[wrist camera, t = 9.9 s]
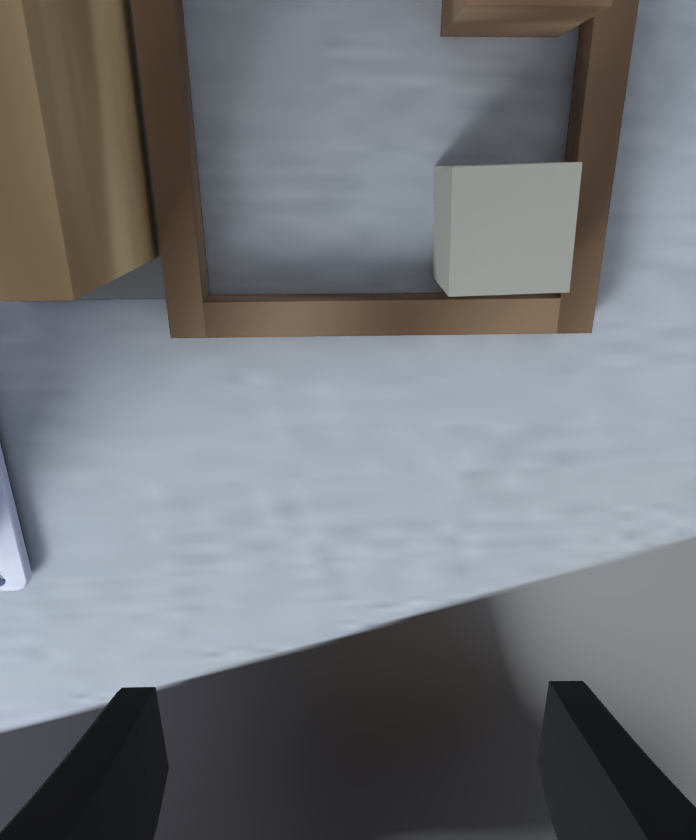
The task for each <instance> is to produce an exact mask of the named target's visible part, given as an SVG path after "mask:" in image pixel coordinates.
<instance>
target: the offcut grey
mask: <svg viewBox="0 0 696 840" xmlns="http://www.w3.org/2000/svg"><path fill="white" fill-rule="evenodd" d="M582 163H583V162H526V163H499V164H471V165H444V166H435V170H434V227H433V278H434V279H435V280H436V282H437V283H438V284H439V285H440V286H441V288H442V289H443V290H444V291H445V293H446V294H447V295H448V296H449V297H457V296H485V295H512V294H540V293H568V292H569V291H570V281H571V271H572V261H573V251H574V242H575V232H576V222H577V212H578V202H579V192H580V182H581V172H582Z"/></svg>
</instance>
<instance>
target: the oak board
mask: <svg viewBox="0 0 696 840" xmlns="http://www.w3.org/2000/svg"><path fill="white" fill-rule="evenodd" d="M157 257H159V256H158V248H157V240H156V231H155V223H154V215H153V207H152V198H151V190H150V182H149V174H148V166H147V157H146V149H145V141H144V133H143V124H142V116H141V108H140V100H139V92H138V83H137V75H136V67H135V59H134V51H133V42H132V34H131V26H130V18H129V9H128V1H127V0H0V301H74V300H76V299H78V298H80V297H82V296H84V295H86V294H88V293H90V292H92V291H94V290H95V289H97V288H99V287H101V286H103V285H105V284H107V283H109V282H111V281H113V280H115V279H117V278H119V277H121V276H122V275H124V274H126V273H128V272H130V271H132V270H134V269H136V268H138V267H140V266H142V265H144V264H146V263H147V262H149V261H151V260H153V259H155V258H157Z"/></svg>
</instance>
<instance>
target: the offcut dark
mask: <svg viewBox="0 0 696 840" xmlns="http://www.w3.org/2000/svg"><path fill="white" fill-rule="evenodd" d="M611 6H612V0H442V14H441V33H440V37H559V36H561V35H562V34H564V33H566V32H567V31H569V30H571V29H573V28H574V27H576V26H578V25H580V24H581V23H583V22H585V21H587V20H588V19H590V18H592V17H593V16H595V15H597V14H599V13H600V12H602V11H604V10H606V9H607V8H609V7H611Z"/></svg>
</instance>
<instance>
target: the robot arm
mask: <svg viewBox="0 0 696 840" xmlns="http://www.w3.org/2000/svg"><path fill="white" fill-rule="evenodd" d="M0 574H1V575H2V576H4V578H5V579H1V578H0V591H18V590H22V589H24V588H25V587H26V586H27V585H28V583H29V582H30V580H31V578H32V572H31V568H30V564H29V560H28V556H27V552H26V548H25V543H24V539H23V535H22V531H21V527H20V523H19V519H18V515H17V510H16V506H15V502H14V498H13V494H12V490H11V486H10V482H9V477H8V473H7V469H6V465H5V461H4V457H3V453H2V449H1V444H0ZM537 763H538V767H539V771H540V775H541V780H542V784H543V789H544V793H545V797H546V801H547V805H548V809H549V813H550V816H551V821H552V824H553V827H554V830H555V833H556V836H557V839H558V840H696V807H695V806H694V805H693V804H692V803H691V802H690V801H689V800H688V799H687V798H686V797H685V796H684V795H683V794H682V793H681V792H680V790H679V789H678V788H677V787H676V786H675V785H674V784H673V783H672V782H671V781H670V780H669V779H668V777H667V776H666V775H665V774H664V773H663V772H662V771H661V770H660V769H659V768H658V767H657V766H656V765H655V764H654V762H653V761H652V760H651V759H650V758H649V757H648V756H647V755H646V753H645V752H644V751H643V750H642V749H641V748H640V747H639V746H638V744H637V743H636V742H635V741H634V740H633V739H632V738H631V736H630V735H629V734H628V733H627V732H626V731H625V730H624V728H623V727H622V726H621V725H620V724H619V722H618V721H617V720H616V719H615V718H614V717H613V716H612V714H611V713H610V712H609V711H608V710H607V708H606V707H605V706H604V705H603V704H602V703H601V701H600V700H599V699H598V698H597V697H596V695H594V693H593V692H592V691H591V689H590V688H589V687H588V686H587V685H586V684H585V683H584V682H583V681H549V686H548V693H547V699H546V706H545V713H544V721H543V727H542V733H541V741H540V747H539V754H538V761H537ZM168 769H169V766H168V760H167V754H166V748H165V742H164V736H163V730H162V724H161V718H160V712H159V706H158V700H157V694H156V688H155V687H136V688H121V689H120V690H119V691H118V692H117V693H116V694H115V696H114V697H113V698H112V699H111V701H110V702H109V703H108V705H107V706H106V707H105V708H104V710H103V711H102V712H101V714H100V715H99V716H98V717H97V719H96V720H95V721H94V723H93V724H92V725H91V727H90V728H89V729H88V730H87V732H86V733H85V734H84V735H83V736H82V738H81V739H80V740H79V741H78V743H77V744H76V745H75V747H74V748H73V749H72V750H71V751H70V753H69V754H68V755H67V756H66V757H65V759H64V760H63V761H62V762H61V764H60V765H59V766H58V767H57V768H56V769H55V771H54V772H53V773H52V774H51V776H50V777H49V778H48V779H47V780H46V781H45V782H44V784H43V785H42V786H41V787H40V788H39V790H38V791H37V792H36V793H35V794H34V795H33V797H32V798H31V799H30V800H29V801H28V802H27V804H26V805H25V806H24V807H23V808H22V809H21V810H20V811H19V812H18V814H16V816H15V817H14V818H13V819H12V820H11V821H10V822H9V823H8V824H7V825H6V827H5V828H4V829H3V830H2V831H1V832H0V840H153V838H154V835H155V831H156V827H157V823H158V818H159V814H160V809H161V804H162V799H163V794H164V789H165V784H166V779H167V774H168Z"/></svg>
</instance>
